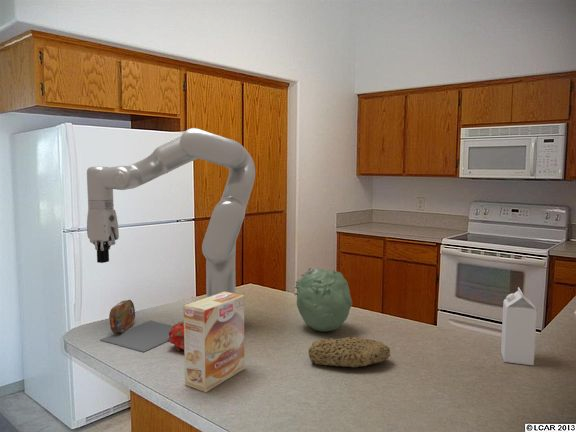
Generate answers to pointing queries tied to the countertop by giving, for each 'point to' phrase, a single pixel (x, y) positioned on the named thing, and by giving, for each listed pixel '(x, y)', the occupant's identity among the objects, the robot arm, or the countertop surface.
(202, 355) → the coffeecake box
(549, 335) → the countertop surface
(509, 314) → the milk carton
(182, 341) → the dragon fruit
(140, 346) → the mat
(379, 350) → the sponge
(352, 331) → the countertop surface
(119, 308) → the tin
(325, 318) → the cabbage
